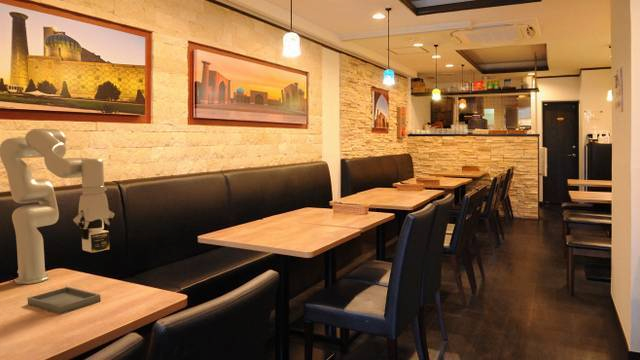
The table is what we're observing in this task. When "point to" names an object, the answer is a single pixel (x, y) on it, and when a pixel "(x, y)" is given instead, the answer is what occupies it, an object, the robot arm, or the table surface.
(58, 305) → the gray tray
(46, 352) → the table surface
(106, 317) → the table surface
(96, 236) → the medicine bottle
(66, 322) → the table surface
